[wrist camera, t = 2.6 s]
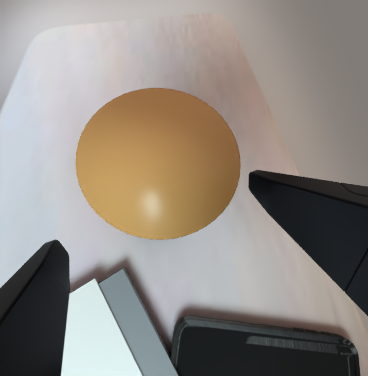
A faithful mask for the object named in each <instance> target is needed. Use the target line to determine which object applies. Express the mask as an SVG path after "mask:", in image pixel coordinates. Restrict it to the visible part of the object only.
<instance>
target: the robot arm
mask: <svg viewBox="0 0 368 376" xmlns="http://www.w3.org/2000/svg"><path fill="white" fill-rule="evenodd" d="M249 190H250V191H251V193H252V194H253V195H254V196H255V198H256V199H257V200H258V202H259V203H260V204H261V205H262V207H263V208H264V209H265V210H266V212H267V213H268V214H269V215H270V216H271V217H272V218H273V219H274V220H275V221H276V222H277V223H278V224H279V225H280V226H281V227H282V228H283V229H284V230H285V231H286V232H287V233H288V234H289V235H290V236H291V237H292V239H293V240H294V241H295V242H296V243H297V244H298V245H299V246H300V247H301V248H302V249H303V250H304V251H305V252H306V253H307V254H308V255H309V256H310V257H311V258H312V259H313V260H314V261H315V262H316V263H317V264H318V265H319V266H320V267H321V268H322V269H323V270H324V271H325V272H326V273H327V274H328V275H329V276H330V278H331V279H332V280H333V281H334V282H335V283H336V284H337V285H338V286H339V287H340V288H341V289H342V290H343V291H345V293H346V294H347V295H348V296H349V297H350V298H351V299H352V300H353V301H354V302H355V303H356V304H357V305H358V306H359V307H360V308H361V309H362V310H363V312H365V314H367V316H368V187H367V186H360V185H353V184H346V183H338V182H333V181H326V180H319V179H313V178H306V177H300V176H294V175H287V174H281V173H274V172H268V171H261V170H255V171H253V172H250V173H249ZM69 293H70V279H69V255H68V252H67V251H66V250H65V248H64V247H63V246H62V244H61V243H60V242H59V241H58V240H53V241H50V242H47V243H45V244H44V245H43V246H42V247H41V248H40V249H39V250H38V251H37V252H36V253H35V254H34V255H33V256H32V257H31V258H30V259H29V260H28V261H27V262H26V263H25V264H24V265H23V266H22V267H21V268H20V269H19V270H18V271H17V272H16V273H15V274H14V275H13V276H12V277H11V278H10V279H9V280H8V281H7V282H6V283H5V284H4V285H3V286H2V287H1V288H0V376H61V371H62V361H63V352H64V342H65V332H66V323H67V313H68V304H69Z"/></svg>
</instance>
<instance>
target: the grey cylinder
mask: <svg viewBox="0 0 368 376" xmlns="http://www.w3.org/2000/svg"><path fill="white" fill-rule="evenodd" d="M76 173H77V178H78V182H79V185H80V188H81V190H82V192H83V195H84V197H85V198H86V200H87V201H88V203H89V205H90V206H91V207H92V208H93V209H94V211H95V212H96V213H97V214H98V215H99V216H100V217H101V218H102V219H104V220H105V221H106V222H107V223H109V224H110V225H112V226H113V227H115V228H117V229H119V230H121V231H123V232H125V233H127V234H130V235H133V236H137V237H141V238H146V239H157V240H164V239H174V238H178V237H183V236H186V235H189V234H192V233H194V232H197V231H199V230H200V229H202V228H204V227H206V226H207V225H209V224H210V223H211V222H213V221H214V220H215V219H216V218H217V217H218V216H219V215H220V214H221V213H222V212H223V211H224V210H225V208H226V207H227V206H228V204H229V203H230V201H231V199H232V197H233V196H234V193H235V191H236V188H237V185H238V181H239V177H240V155H239V149H238V146H237V143H236V139H235V137H234V135H233V133H232V131H231V129H230V128H229V126H228V125H227V123H226V122H225V121H224V119H223V118H222V117H221V116H220V115H219V114H218V113H217V112H216V111H215V110H214V109H213V108H212V107H210V106H209V105H208V104H207V103H205V102H203V101H202V100H200V99H198V98H196V97H194V96H192V95H190V94H187V93H184V92H181V91H177V90H172V89H165V88H148V89H141V90H136V91H132V92H129V93H126V94H123V95H121V96H119V97H117V98H115V99H113V100H112V101H110V102H108V103H107V104H106V105H104V106H103V107H102V108H101V109H99V110H98V111H97V112H96V113H95V114H94V116H93V117H92V118H91V119H90V121H89V122H88V123H87V125H86V127H85V128H84V130H83V132H82V134H81V137H80V140H79V142H78V147H77V152H76Z"/></svg>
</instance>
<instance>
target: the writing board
mask: <svg viewBox="0 0 368 376" xmlns="http://www.w3.org/2000/svg"><path fill="white" fill-rule="evenodd" d="M61 376H179V375H178V373H177V371H176V369H175V367H174V366H173V364H172V362H171V357H170V354H169V352H168V350H167V348H166V346H165V344H164V342H163V340H162V338H161V336H160V334H159V332H158V331H157V329H156V327H155V325H154V323H153V321H152V319H151V317H150V315H149V313H148V311H147V309H146V308H145V306H144V304H143V302H142V300H141V298H140V296H139V294H138V292H137V290H136V288H135V286H134V284H133V283H132V281H131V279H130V277H129V275H128V273H127V271H126V269H125V267H124V268H123V269H121V270H119V271H118V272H116V273H115V274H113V275H112V276H110V277H108V278H107V279H105V280H104V281H102V282H100V283H99V284H98V283H97V281H96V279H93V280H91V281H90V282H88V283H87V284H85V285H83V286H82V287H80V288H78V289H77V290H75V291H74V292H72V293H70V294H69V304H68V313H67V323H66V332H65V342H64V352H63V361H62V371H61Z"/></svg>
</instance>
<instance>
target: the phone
mask: <svg viewBox="0 0 368 376" xmlns="http://www.w3.org/2000/svg"><path fill="white" fill-rule="evenodd" d="M172 342H173V343H172V346H171V353H170V357H171V362H172V364H173V366H174V367H175V369H176V371H177V373H178V375H179V376H360V367H359V357H358V352H357V350H356V347H355V346H354V345H353V343H352V342H351V341H349V340H348V339H346V338H344V337H342V336H340V335H337V334H331V333H327V332H317V331H313V330H303V329H299V328H293V329H291V328H283V327H276V326H268V325H260V324H252V323H244V322H236V321H228V320H220V319H212V318H205V317H197V316H185V317H182V318H181V319H180V320H179V321H178V322H177V323H176V325H175V328H174V332H173V339H172Z"/></svg>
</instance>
